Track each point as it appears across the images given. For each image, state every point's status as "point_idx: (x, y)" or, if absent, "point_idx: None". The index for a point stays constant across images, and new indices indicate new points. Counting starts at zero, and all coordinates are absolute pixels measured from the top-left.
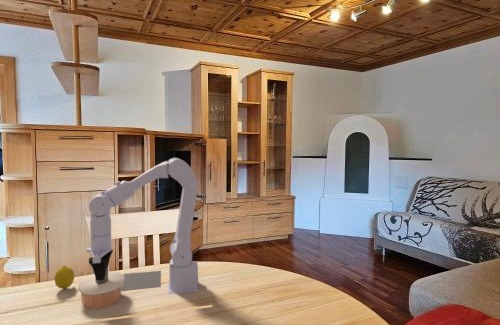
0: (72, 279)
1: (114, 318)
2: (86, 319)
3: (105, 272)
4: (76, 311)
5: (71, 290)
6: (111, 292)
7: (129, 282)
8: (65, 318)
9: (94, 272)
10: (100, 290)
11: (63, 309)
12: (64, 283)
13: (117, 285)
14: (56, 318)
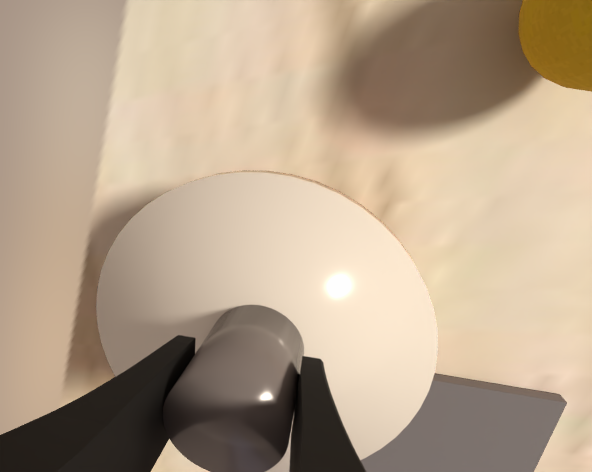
0: (563, 81)
1: (88, 324)
2: (100, 213)
3: (155, 450)
4: (190, 156)
5: (504, 84)
6: None
7: (417, 415)
8: (129, 106)
9: (104, 384)
10: (112, 333)
11: (234, 75)
12: (524, 14)
13: None
14: (139, 53)
